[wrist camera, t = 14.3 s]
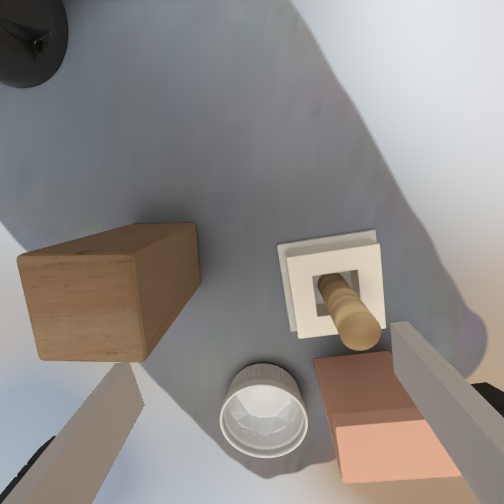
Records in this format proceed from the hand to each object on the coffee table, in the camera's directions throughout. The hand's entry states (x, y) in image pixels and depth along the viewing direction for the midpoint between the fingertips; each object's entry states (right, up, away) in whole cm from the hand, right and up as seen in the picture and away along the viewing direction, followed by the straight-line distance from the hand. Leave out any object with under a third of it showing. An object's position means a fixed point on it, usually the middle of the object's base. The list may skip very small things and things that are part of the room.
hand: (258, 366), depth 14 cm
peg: (+11, +1, +27) cm, 29 cm away
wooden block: (-13, +5, +29) cm, 33 cm away
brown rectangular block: (+15, -10, +30) cm, 35 cm away
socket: (+11, +1, +28) cm, 30 cm away
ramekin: (+2, -18, +34) cm, 38 cm away
